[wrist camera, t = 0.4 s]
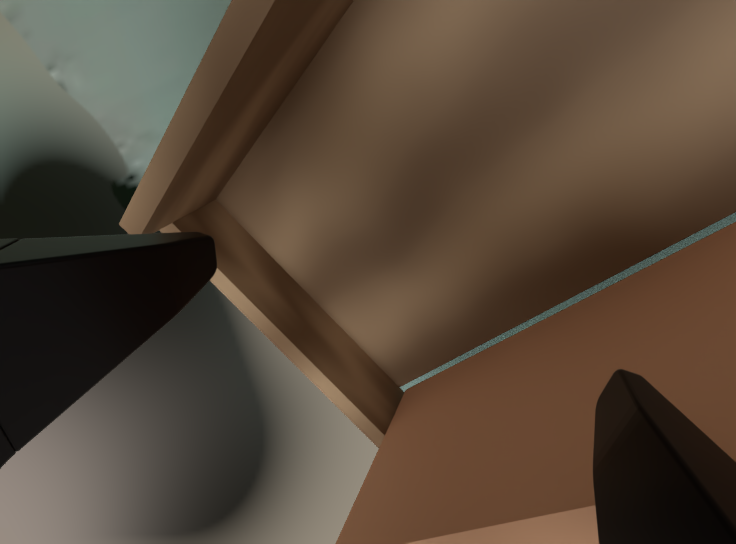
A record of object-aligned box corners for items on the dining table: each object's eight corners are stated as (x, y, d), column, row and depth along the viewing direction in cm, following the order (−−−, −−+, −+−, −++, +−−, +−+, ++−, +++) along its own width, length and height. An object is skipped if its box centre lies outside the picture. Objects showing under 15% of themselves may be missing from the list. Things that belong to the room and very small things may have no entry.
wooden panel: (405, 390, 23) (328, 558, 16) (941, 117, 11) (1548, 313, 4) (421, 405, 24) (351, 580, 16) (967, 152, 11) (1599, 402, 4)
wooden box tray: (240, 173, 26) (112, 237, 19) (618, -361, 12) (668, -867, 5) (424, 364, 28) (370, 489, 21) (940, 86, 14) (1312, 176, 7)
